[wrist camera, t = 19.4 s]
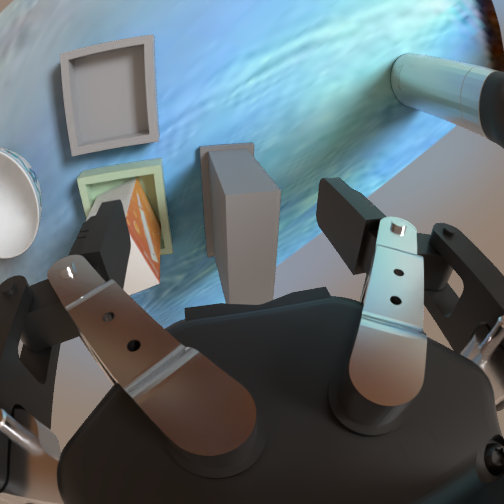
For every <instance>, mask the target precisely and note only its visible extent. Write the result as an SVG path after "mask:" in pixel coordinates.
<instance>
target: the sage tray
mask: <svg viewBox="0 0 504 504" xmlns="http://www.w3.org/2000/svg"><path fill="white" fill-rule="evenodd" d="M135 177H137V178H138V180H139V182H140V184H141V186H142V188H143V190H144V193H145V195H146V197H147V199H148V201H149V203H150V205H151V207H152V209H153V211H154V212H155V214H156V216H157V218H158V220H159V221H160V223H161V242H160V255H165V254H173V242H172V235H171V228H170V221H169V214H168V207H167V199H166V191H165V183H164V174H163V165H162V158H157V159H150V160H143V161H136V162H129V163H123V164H117V165H111V166H105V167H100V168H94V169H89V170H84V171H82V172H81V174H80V175H79V177H78V178H77V182H78V187H79V191H80V195H81V199H82V203H83V207H84V211H85V215H86V219H87V217H88V215H89V212H90V210H91V208H92V206H93V204H94V202H95V200H96V198H97V196H98V195H99V194H101V193H103V192H105V191H107V190H110V189H112V188H114V187H116V186H118V185H120V184H122V183H124V182H126V181H129V180H131V179H133V178H135Z"/></svg>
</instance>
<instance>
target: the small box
mask: <svg viewBox="0 0 504 504" xmlns="http://www.w3.org/2000/svg"><path fill="white" fill-rule="evenodd" d="M118 199H120V200H121V202H122V205H123V209H124V213H125V217H126V221H127V225H128V230H129V234H130V239H131V250H130V255H129V260H128V266H127V271H126V277H125V282H124V288H123V290H124V291H125V292H126V293H127V294H128V295H132V294H134V293H137V292H140V291H142V290H145V289H147V288H150V287H152V286H155V285H157V284H160V242H161V223H160V221H159V220H158V218H157V216H156V214H155V212H154V211H153V209H152V207H151V205H150V203H149V201H148V199H147V197H146V195H145V193H144V190H143V188H142V186H141V184H140V182H139V180H138V178H137V177H135V178H133V179H131V180H129V181H126V182H124V183H122V184H120V185H118V186H116V187H114V188H112V189H110V190H107V191H105V192H103V193H101V194H99V195H98V196H97V198H96V200H95V202H94V204H93V206H92V208H91V210H90V212H89V215H88V217H87V219H86V221H87V220H88V219H89V218H90V217H91V216H96V214H97V211H98V209H99V207H100V205H101V203H102V202H106V201H112V200H118ZM86 221H85V222H86Z"/></svg>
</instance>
